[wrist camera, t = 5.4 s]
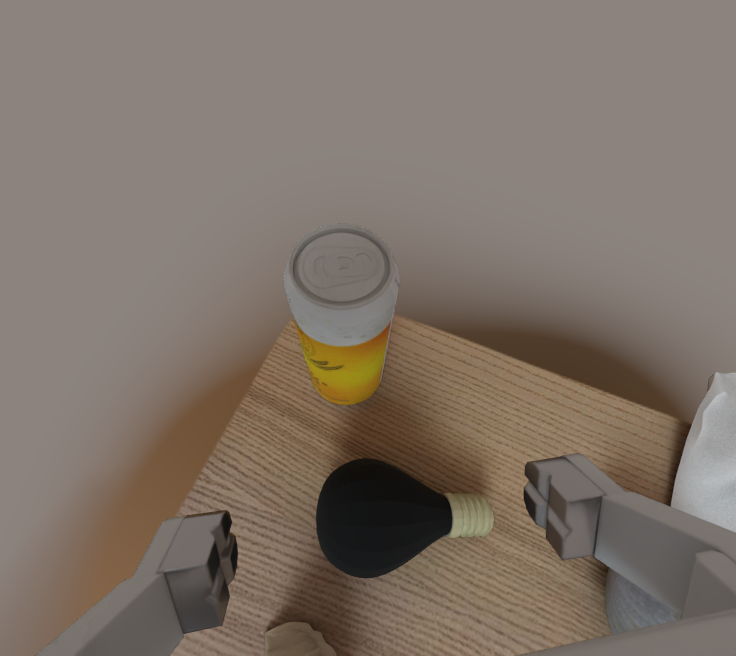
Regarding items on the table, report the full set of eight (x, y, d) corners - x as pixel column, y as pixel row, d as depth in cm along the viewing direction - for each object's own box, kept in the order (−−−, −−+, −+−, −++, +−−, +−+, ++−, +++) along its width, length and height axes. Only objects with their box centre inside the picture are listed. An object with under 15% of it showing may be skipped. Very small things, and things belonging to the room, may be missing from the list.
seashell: (547, 531, 25) (587, 533, 21) (643, 495, 27) (700, 490, 22) (656, 766, 20) (740, 834, 16) (770, 705, 21) (877, 752, 17)
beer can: (309, 345, 32) (278, 222, 19) (376, 338, 33) (391, 213, 19) (313, 412, 29) (280, 321, 16) (387, 403, 30) (413, 307, 17)
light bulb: (529, 497, 21) (331, 493, 18) (508, 600, 22) (313, 612, 19) (472, 447, 28) (320, 439, 25) (457, 528, 28) (306, 529, 26)
